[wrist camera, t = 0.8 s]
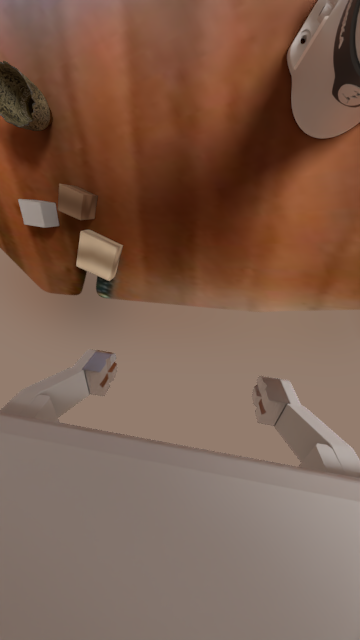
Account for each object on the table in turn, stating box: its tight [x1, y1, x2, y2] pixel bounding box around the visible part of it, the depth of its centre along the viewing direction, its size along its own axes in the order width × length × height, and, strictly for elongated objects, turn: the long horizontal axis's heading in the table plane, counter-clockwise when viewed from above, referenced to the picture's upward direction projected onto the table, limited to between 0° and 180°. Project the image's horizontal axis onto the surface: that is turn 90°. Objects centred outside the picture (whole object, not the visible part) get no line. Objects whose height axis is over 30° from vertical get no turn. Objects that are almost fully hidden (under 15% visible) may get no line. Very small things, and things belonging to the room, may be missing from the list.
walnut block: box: [58, 184, 98, 220], centre depth 43 cm, size 5×5×6 cm
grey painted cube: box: [18, 199, 59, 228], centre depth 46 cm, size 5×5×5 cm
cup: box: [0, 61, 53, 131], centre depth 35 cm, size 8×7×8 cm
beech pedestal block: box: [76, 230, 123, 281], centre depth 50 cm, size 9×9×4 cm
